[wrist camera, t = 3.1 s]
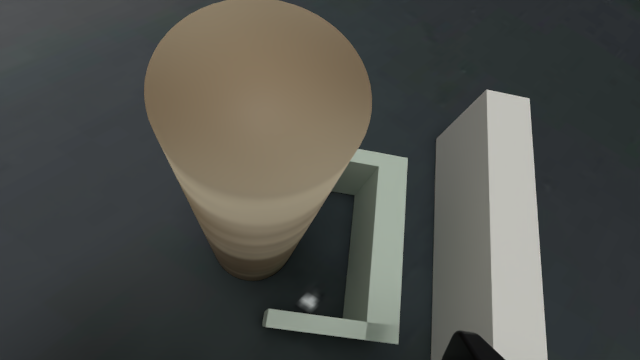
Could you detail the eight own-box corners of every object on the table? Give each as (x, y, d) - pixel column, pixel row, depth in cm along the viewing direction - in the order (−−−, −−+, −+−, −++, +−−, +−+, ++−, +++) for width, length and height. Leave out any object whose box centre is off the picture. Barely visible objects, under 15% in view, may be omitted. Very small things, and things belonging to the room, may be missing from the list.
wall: (428, 434, 17) (496, 476, 12) (436, 138, 22) (486, 89, 17) (473, 439, 17) (555, 481, 13) (470, 145, 22) (529, 98, 18)
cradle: (261, 325, 17) (265, 326, 14) (287, 172, 20) (296, 137, 16) (367, 339, 18) (398, 344, 14) (378, 188, 20) (407, 158, 17)
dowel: (304, 262, 19) (407, 152, 7) (228, 293, 18) (185, 230, 6) (276, 192, 20) (322, -19, 7) (202, 218, 19) (117, 23, 6)
